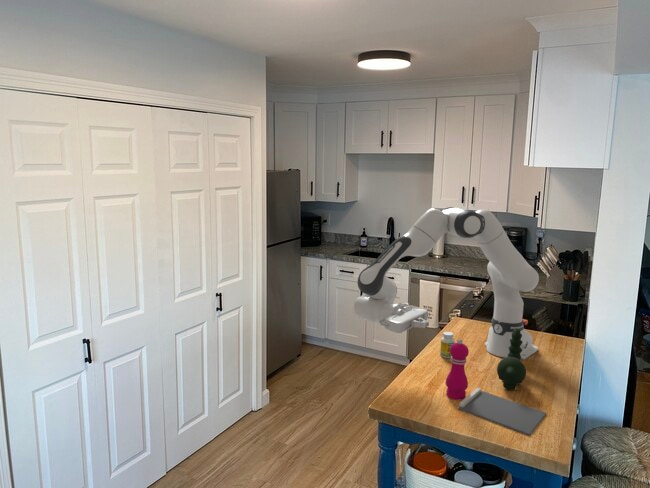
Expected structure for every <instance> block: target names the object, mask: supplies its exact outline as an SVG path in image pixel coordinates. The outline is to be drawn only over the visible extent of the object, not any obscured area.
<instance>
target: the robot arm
mask: <svg viewBox="0 0 650 488" xmlns="http://www.w3.org/2000/svg"><path fill="white" fill-rule="evenodd" d="M445 234H448V235H450V236H454V237H460V238H464V239H469V238H474V239H475V241H476V242H477V244H478V246H479V248H480V250H481V252H482V253H483V255H484V256H485V258H486V259H487V260H488V263H487V274H488V276H489V277H490V280H491V283H492V289H493V296H494V298H493V299H494V302H493V303H494V304H493V316H492V319H491V326H490V327H489V330H488V335H487V341H485V342H484V345H485V347H486V352H488V353H490V354H492V355H494V356H497V357H500V358H506V357H508V354H509V347H510V346H511V343H510V339H512V333H513V330H514V329H515V328H518V329H519V330H520V333H521V334H522V337H521V339H520V340H521V341H522V342H523V343H522V344H521V346H520V347H521V349H522V352H521V353H520V355H521V360H527V359H528V358H529V357H531V356H532V355H534V353H536V352H538V350H539V347H538V346H537V345H535V344H533V336H532V334H531V333H529V332H528V331H527V330H526V329H525V326H527V325H528V323H529V321H528V319H525V318H523V315H524V305H525V304H524V300H523V298H522V296H521V294H520V292H525V293H527V292H532V291H533V290H534V289H535V288H536V287H537V286H538V284H539V281H540V276H539V273H538V271H537V270H536V269H535V268H534V267H532V265H530V264H529V262H528V261H527V260H526V259H525V258H524V257H523V255H522V254H521V253H520V252H519V251H518V249H517V248H516V247H515V246H514V245H513V243H512V242H511V241H512V240H510V238H509V236H508V234H507V233H506V231H505V230H504V227H503V226H502V224H501V223H500V221H499V220H498V218H497V217H496V215H494V214H493V212H492V211H490V210H489V209H486V208H485V209H483V208H482V209H477V210H476V211H474V210H472V209H468V208H464V207H455V206H449V207H448V206H447V207H446V208H443V209H441V210H440V209H437V208H430V209H427V210H426V212H424V213H423V214H422V215H421V216H420V217H419V218H418V219H417V220H416V221H415V223H414V224H413V225H412V226H411V228H410V229H409V230H408V231H407V232H406V233H405V234H403V235H401V236H399V237H398V238H396V239H395V240H394V241H393V242H391V244H389V246H388V247H387V248H386V249H384V251H383V252H382V253H381V254H380V255H379V256H378V257H377V258H376V259H375V260H374V261H373V262H372V263H371V264H369V265H368V266H366V267H364V268H363V269H362V270H361V271H360V273H359V275H358V277H357V282H356V283H357V287H358V290H360V292H361V293H362V295H360V296H358V297H357V298H356V299H355V301H354V303H353V311H354V314H355V315H356V316H357V318H360V319H361V320H364V321H366V322H369V323H372V324H379V325H380V326H382V327H384V329H385V330H387V331H390V332H394V333H396V334H402V333H403V332H406V331H408V330H410V329H412V328H421V329H425V328H427V327H429V326H430V321H429V320H428V319H429V311H428V310H427V309H426V308H422V307H420V306H419V307H418V306H416V305H410V304H409V303H408V302H402V303H394V301H395V299H396V297H397V294H398V288H397V285H396V283H395V282H393V280H392V279H390V278H389V277H388V276H387V274H388V272H389V271H390V270H391V269H392V268H393V267H394V266H395V264H396V263H397V262H399V260H400V259H402V258H405V257H409V256H410V257H418V258H419V257H420V258H421V257H424V256H426V255H427V254H429V253H430V252H431V251H432V249H433V248H434V247H435V246H436V245H437V243H438V242H439V240H440V239H441V238H442V237H443V236H444V235H445ZM524 325H525V326H524Z"/></svg>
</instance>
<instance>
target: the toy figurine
mask: <svg viewBox="0 0 650 488" xmlns="http://www.w3.org/2000/svg"><path fill="white" fill-rule="evenodd" d="M521 337H522V334H521V333H520V330H519V329H518V328H515V329H514V330H513V333H512V339H510V343H511V346H510V347H509V354H508V357H506V358H505V357H503V358H502V359H501V360H500V361H499V362H498V364H497V366H496V373H497V376H498V379H499V380H501V381H502V382H503V383H502V385H503V388H504V389H506V390H507V391H515V390H516V389H517V385H519V384H520V385H521V384H522V382H523V381H524V380H525V379H526V376H527V369H526V366H525V364H524V362H522V359H521V355H520V353H521V352H522V349H521V347H520V346H521V344H522V343H523V342H522V341H521V340H520V339H521Z"/></svg>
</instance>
